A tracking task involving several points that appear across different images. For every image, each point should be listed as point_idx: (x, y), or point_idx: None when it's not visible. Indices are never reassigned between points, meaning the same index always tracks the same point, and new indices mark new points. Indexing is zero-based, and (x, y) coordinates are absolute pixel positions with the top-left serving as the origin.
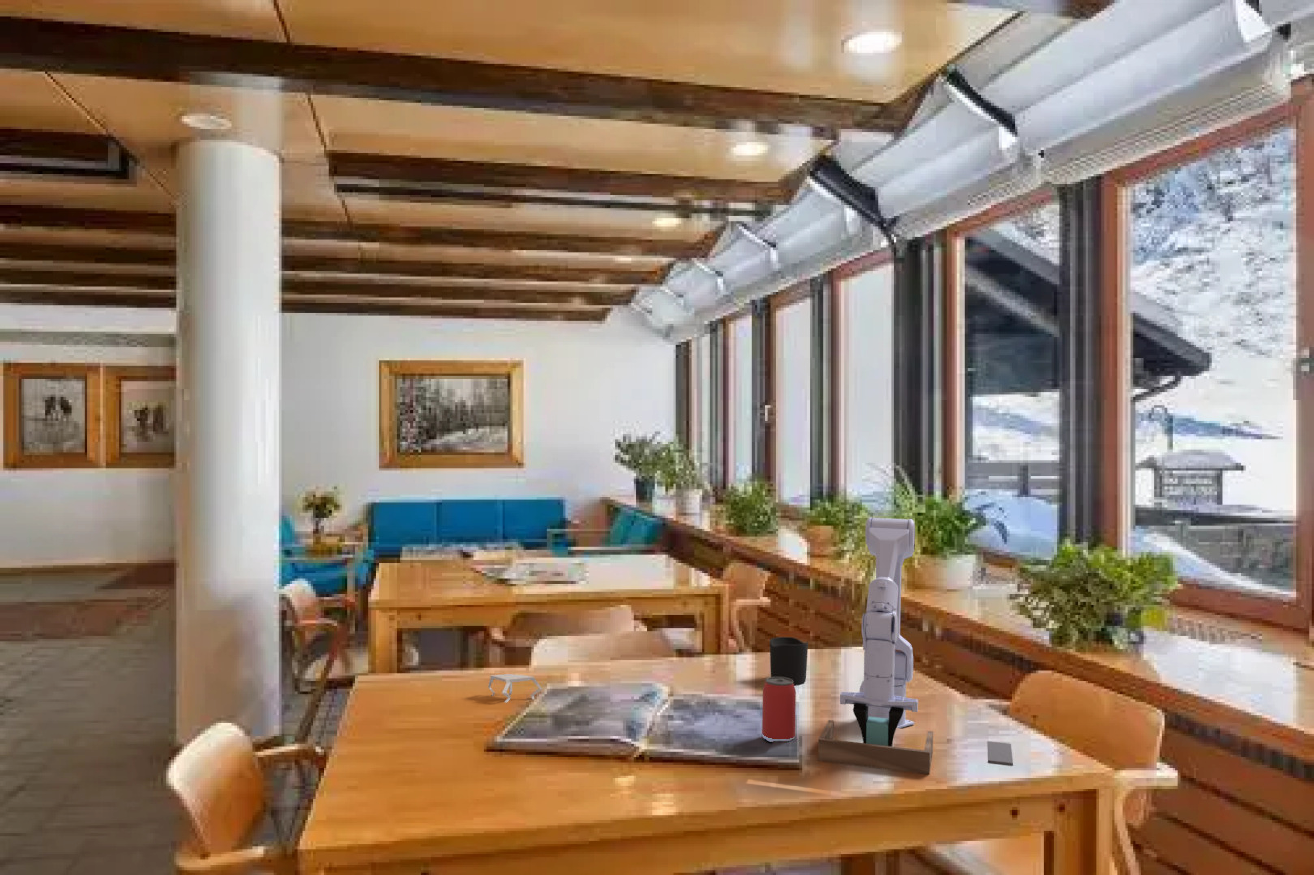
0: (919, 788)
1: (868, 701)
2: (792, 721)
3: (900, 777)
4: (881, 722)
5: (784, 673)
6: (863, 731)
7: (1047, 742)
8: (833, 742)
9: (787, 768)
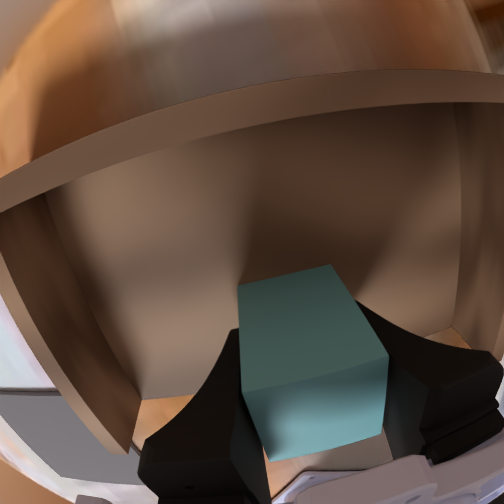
0: (28, 47)
1: (449, 477)
2: None
3: (111, 99)
4: (296, 405)
5: None
6: (381, 325)
7: (45, 487)
8: (473, 72)
9: (495, 11)
